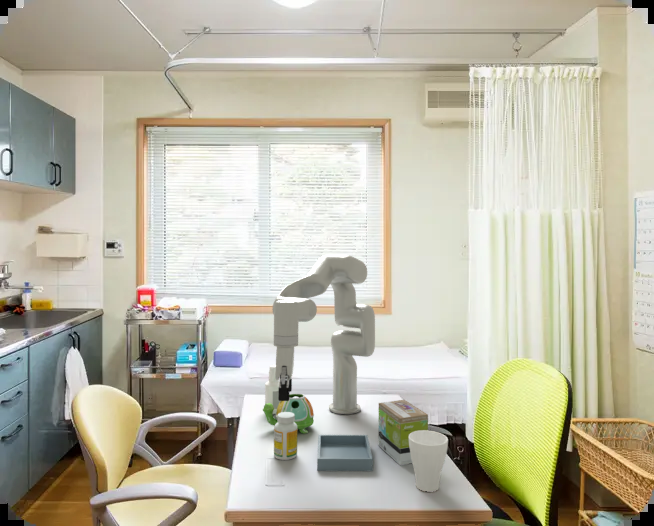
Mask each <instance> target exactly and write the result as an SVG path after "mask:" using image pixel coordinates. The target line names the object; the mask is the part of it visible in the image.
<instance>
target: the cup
mask: <svg viewBox="0 0 654 526" xmlns="http://www.w3.org/2000/svg"><path fill="white" fill-rule="evenodd" d="M408 437H409V448H410V454H411V459H412V467H413V470H414V475H415V487H416V489H418V490H419V489H420V491H421V490H422V491H421V492H425V491H427V492H426V493H434V492H436V490H437V491H438V490H439V488H440V481H441V475H442V471H443V468H444V464H445V461H446V457H447V453H448V445H449V439H448V437H447V435H444V434H443V433H441V432H438V431H434V430H429V429H428V430H420V431H415V432H412V433H410V434H409V436H408ZM433 491H434V492H433Z"/></svg>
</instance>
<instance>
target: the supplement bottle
mask: <svg viewBox="0 0 654 526" xmlns="http://www.w3.org/2000/svg"><path fill="white" fill-rule="evenodd" d="M276 419H277V421H278V422H277V423H276V424H275V425H273V427H274V428H273V456H274V457H275V458H276V459H277V460H281V461H288V460H289V461H290V460H292V459H295V458H296V457H297V455H298V429H297V424H296V423H295V422H294V420H295V414H294V413H292V412H281V413H279V414H278V415H277V418H276Z"/></svg>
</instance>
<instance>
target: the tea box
mask: <svg viewBox="0 0 654 526" xmlns="http://www.w3.org/2000/svg"><path fill="white" fill-rule="evenodd" d="M420 430H428V431H429V414H428V413H426V412H425V411H423V410H422V409H419V408H418V407H417V406H415V405H414V404H412V403H410V402H409V401H407V400H406V399H399V400H391V401H384V402H378V447H380V448H381V449H382V450H383V451H384V452H385V453H386V454H387V455H389V457H391V459H393V460H394V461H395V463H397V464H398V466H404V465H403V464H406V465H409V463H412V459H411V454H410V448H409V437H408V436H409V434H410V433H412V432H415V431H420ZM412 464H413V463H412Z"/></svg>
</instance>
